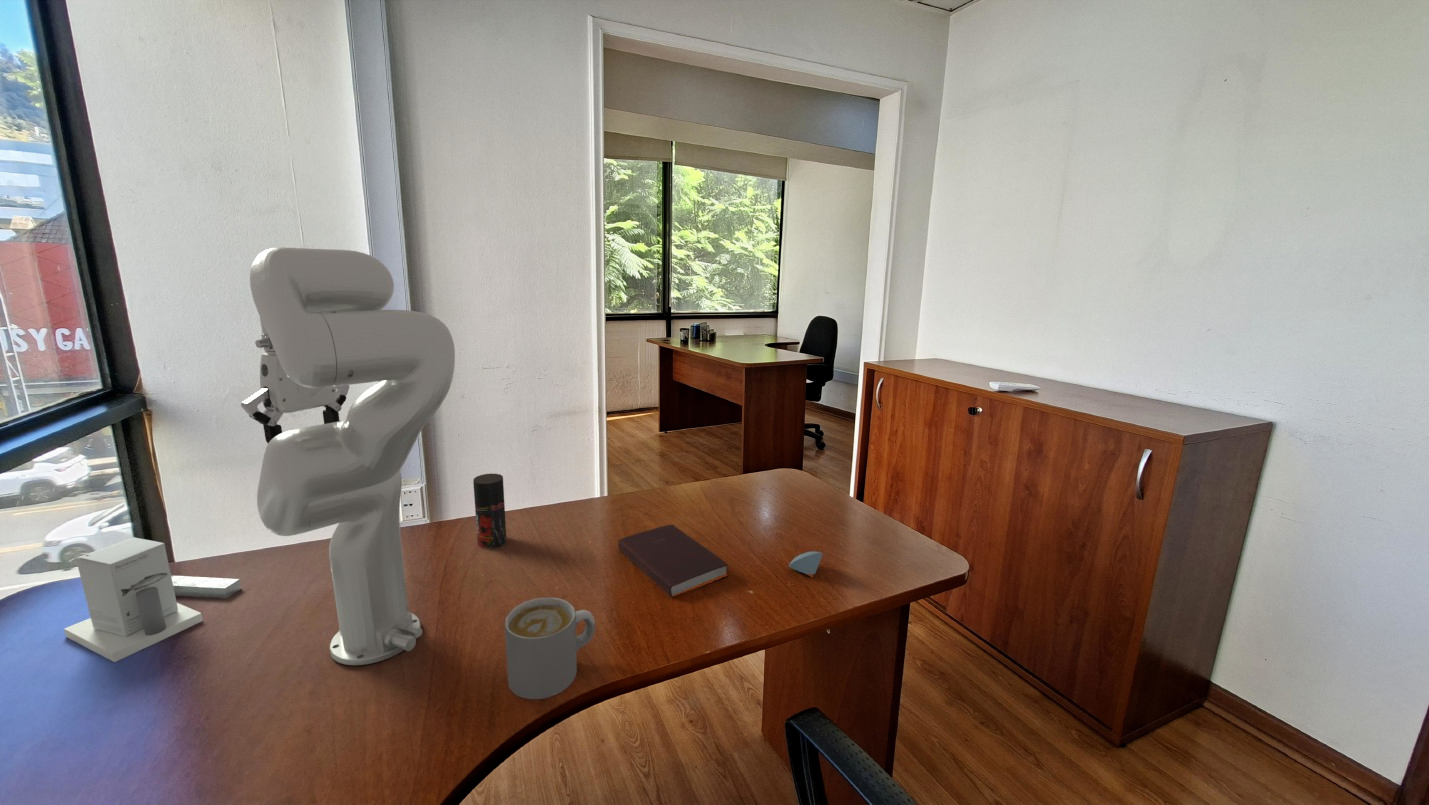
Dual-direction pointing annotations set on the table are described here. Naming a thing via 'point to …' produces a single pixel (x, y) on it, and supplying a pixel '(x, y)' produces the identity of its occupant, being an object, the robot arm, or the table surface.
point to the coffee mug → (544, 646)
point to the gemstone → (806, 562)
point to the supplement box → (125, 583)
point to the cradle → (150, 634)
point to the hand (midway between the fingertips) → (305, 438)
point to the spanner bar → (205, 586)
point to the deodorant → (490, 510)
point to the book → (672, 558)
